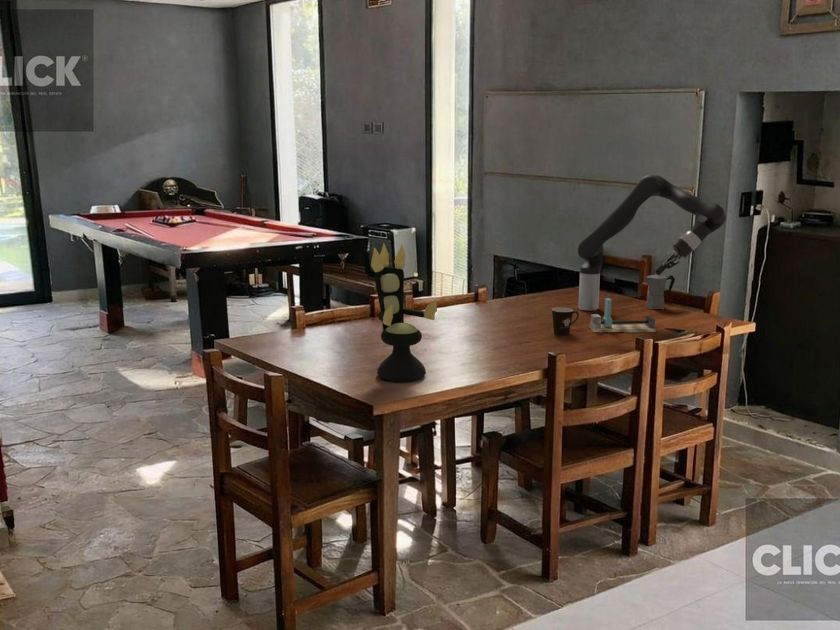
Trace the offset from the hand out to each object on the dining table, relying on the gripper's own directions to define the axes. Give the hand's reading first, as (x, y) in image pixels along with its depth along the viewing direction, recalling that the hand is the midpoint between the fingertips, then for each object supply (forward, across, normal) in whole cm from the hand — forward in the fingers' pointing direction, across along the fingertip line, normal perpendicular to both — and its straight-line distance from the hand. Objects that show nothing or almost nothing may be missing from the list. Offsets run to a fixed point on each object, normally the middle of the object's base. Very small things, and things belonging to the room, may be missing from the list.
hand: (656, 273), depth 354 cm
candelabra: (+96, +62, -62) cm, 129 cm away
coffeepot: (+6, -43, +29) cm, 52 cm away
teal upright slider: (+30, +1, +1) cm, 30 cm away
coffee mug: (+45, +5, -11) cm, 46 cm away
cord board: (+27, 0, +7) cm, 28 cm away
